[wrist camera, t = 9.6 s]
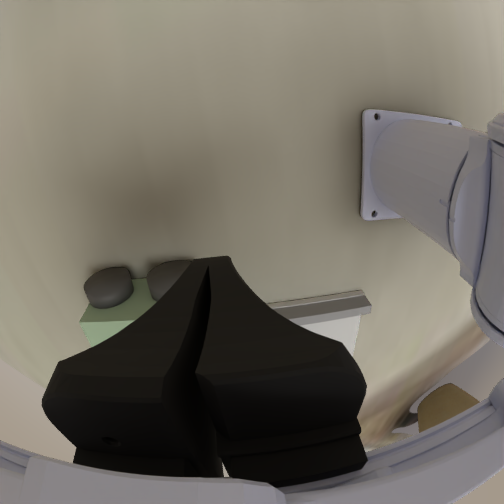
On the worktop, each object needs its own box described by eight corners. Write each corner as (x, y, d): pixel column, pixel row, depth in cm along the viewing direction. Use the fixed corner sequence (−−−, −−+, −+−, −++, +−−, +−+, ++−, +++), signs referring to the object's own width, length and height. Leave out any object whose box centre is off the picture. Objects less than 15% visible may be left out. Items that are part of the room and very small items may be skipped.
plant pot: (482, 365, 35) (525, 429, 21) (431, 419, 41) (462, 481, 27) (440, 365, 31) (492, 452, 17) (379, 427, 37) (410, 506, 23)
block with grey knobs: (368, 239, 21) (409, 281, 16) (340, 396, 31) (355, 438, 25) (93, 269, 20) (62, 319, 15) (161, 416, 30) (157, 459, 24)
